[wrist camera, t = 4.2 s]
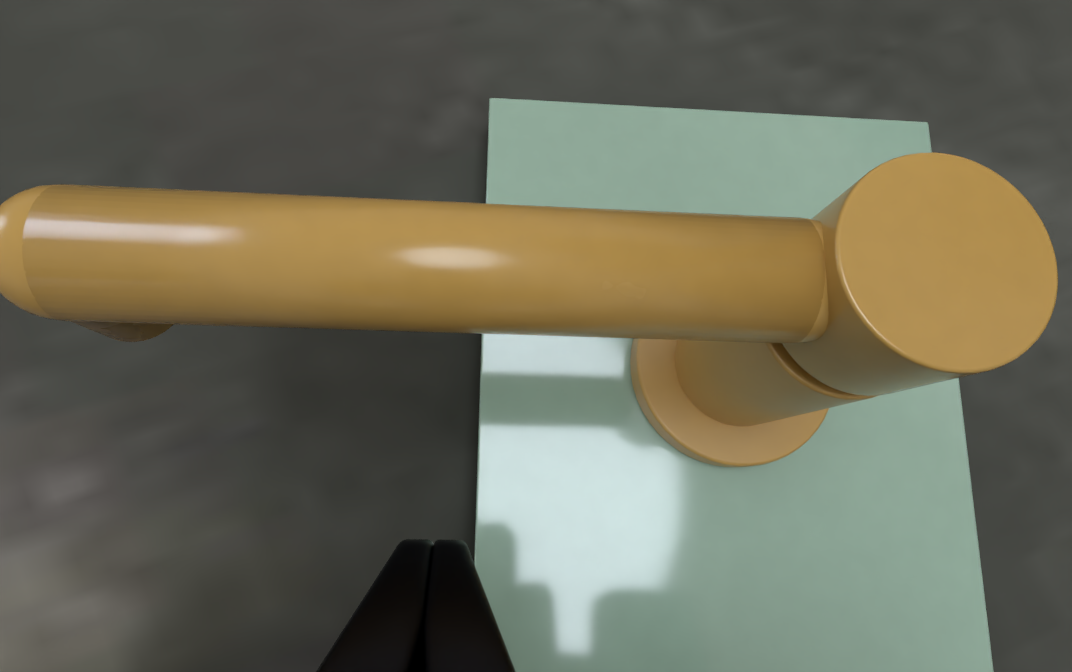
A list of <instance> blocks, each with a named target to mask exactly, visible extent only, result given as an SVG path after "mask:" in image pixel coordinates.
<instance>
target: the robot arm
mask: <svg viewBox="0 0 1072 672" xmlns="http://www.w3.org/2000/svg"><path fill="white" fill-rule="evenodd" d="M316 672H516V671H515V668H514V666H513V663H512V661H511V658H510V656H509V653H508V650H507V648H506V645H505V643H504V640H503V637H502V635H501V632H500V630H499V627H498V624H497V622H496V619H495V617H494V614H493V612H492V609H491V606H490V604H489V601H488V599H487V596H486V593H485V591H484V588H483V586H482V583H481V580H480V578H479V575H478V573H477V570H476V568H475V565H474V562H473V560H472V557H471V555H470V552H469V549H468V547H467V545H466V543H465V542H464V541H462V540H437V541H435V543H434V545H433V543H432V542H431V541H430V540H422V539H406V540H403V541H401V542H400V543H399V544H398V546H397V547H396V549H395V550H394V552H393V554H392V555H391V557H390V558H389V560H388V561H387V563H386V564H385V566H384V567H383V569H382V571H381V572H380V574H379V575H378V577H377V578H376V580H375V581H374V583H373V584H372V586H371V588H370V589H369V591H368V592H367V594H366V595H365V597H364V598H363V600H362V601H361V603H360V605H359V606H358V608H357V609H356V611H355V612H354V614H353V615H352V617H351V619H350V620H349V622H348V623H347V625H346V626H345V628H344V629H343V631H342V632H341V634H340V636H339V637H338V639H337V640H336V642H335V643H334V645H333V646H332V648H331V649H330V651H329V653H328V654H327V656H326V657H325V659H324V660H323V662H322V663H321V665H320V666H319V668H318V670H317V671H316Z"/></svg>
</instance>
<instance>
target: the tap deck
mask: <svg viewBox="0 0 1072 672" xmlns="http://www.w3.org/2000/svg"><path fill="white" fill-rule="evenodd" d="M916 153H932V151H931V143H930V134H929V126H928V123H927V122H913V121H895V120H877V119H859V118H842V117H824V116H806V115H788V114H770V113H752V112H734V111H717V110H699V109H681V108H663V107H645V106H627V105H609V104H591V103H574V102H556V101H538V100H520V99H502V98H490V99H489V122H488V153H487V184H486V203H488V204H510V205H533V206H555V207H577V208H600V209H622V210H644V211H667V212H689V213H711V214H733V215H756V216H778V217H800V218H808V219H812V218H813V217H814V216H815V215H817V214H818V213H819V212H820V211H821V210H823V209H824V208H825V207H826V206H828V205H829V204H830V203H831V202H833V201H834V200H835V199H836V198H837V197H839V196H840V195H841V194H842V193H844V192H845V191H846V190H847V189H848V188H850V187H851V186H852V185H853V184H855V183H856V182H857V181H858V180H859V179H861V178H862V177H863V176H864V175H866V174H867V173H868V172H869V171H871V170H872V169H874V168H875V167H877V166H879V165H880V164H882V163H884V162H887V161H889V160H891V159H893V158H897V157H900V156H904V155H909V154H916ZM632 343H633V338H601V337H569V336H537V335H504V334H482V339H481V370H480V401H479V432H478V463H477V494H476V525H475V556H474V565H475V568H476V570H477V573H478V575H479V578H480V580H481V583H482V586H483V588H484V591H485V593H486V596H487V599H488V601H489V604H490V606H491V609H492V612H493V614H494V617H495V619H496V622H497V624H498V627H499V630H500V632H501V635H502V637H503V640H504V643H505V645H506V648H507V650H508V653H509V656H510V658H511V661H512V663H513V666H514V668H515V671H516V672H994V671H993V663H992V654H991V646H990V638H989V629H988V621H987V612H986V604H985V596H984V587H983V579H982V570H981V562H980V554H979V545H978V537H977V528H976V520H975V512H974V503H973V495H972V487H971V478H970V470H969V461H968V453H967V445H966V436H965V428H964V419H963V411H962V403H961V394H960V386H959V378H956V379H951V380H947V381H943V382H939V383H934V384H930V385H926V386H921V387H917V388H913V389H908V390H904V391H900V392H896V393H891V394H886V395H880V396H877V397H873V398H870V399H866V400H861V401H857V402H853V403H848V404H844V405H840V406H835V407H831V408H829V410H828V412H827V414H826V416H825V419H824V420H823V422H822V424H821V425H820V427H819V428H818V430H817V431H816V432H815V433H814V435H813V436H812V437H811V438H810V439H809V440H808V441H807V442H806V443H805V444H804V445H802V446H801V447H800V448H799V449H797V450H796V451H794V452H793V453H791V454H790V455H788V456H786V457H784V458H781V459H779V460H777V461H774V462H770V463H767V464H763V465H756V466H748V467H722V466H715V465H711V464H707V463H703V462H700V461H698V460H696V459H693V458H691V457H689V456H687V455H685V454H683V453H682V452H680V451H678V450H677V449H676V448H674V447H673V446H672V445H670V444H669V443H668V442H666V441H665V440H664V439H663V438H662V437H661V436H660V435H659V434H658V433H657V431H656V430H655V429H654V428H653V426H652V425H651V424H650V423H649V421H648V419H647V418H646V416H645V415H644V413H643V411H642V409H641V407H640V405H639V403H638V400H637V398H636V395H635V391H634V388H633V384H632V378H631V367H630V358H631V348H632Z"/></svg>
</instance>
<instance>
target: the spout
mask: <svg viewBox="0 0 1072 672" xmlns="http://www.w3.org/2000/svg"><path fill="white" fill-rule="evenodd" d="M1057 288H1058V272H1057V262H1056V258H1055V253H1054V249H1053V246H1052V243H1051V240H1050V237H1049V235H1048V232H1047V230H1046V228H1045V226H1044V224H1043V222H1042V220H1041V219H1040V217H1039V216H1038V214H1037V213H1036V211H1035V209H1034V208H1033V207H1032V206H1031V204H1030V203H1029V202H1028V201H1027V199H1026V198H1025V197H1024V196H1023V195H1022V194H1021V193H1020V192H1019V191H1018V190H1017V189H1016V188H1015V187H1014V186H1013V185H1012V184H1010V183H1009V182H1008V181H1007V180H1006V179H1004V178H1003V177H1002V176H1000V175H998V174H997V173H995V172H994V171H992V170H991V169H989V168H987V167H985V166H983V165H981V164H979V163H977V162H974V161H971V160H969V159H966V158H963V157H959V156H955V155H951V154H943V153H916V154H909V155H904V156H900V157H897V158H893V159H891V160H889V161H887V162H884V163H882V164H880V165H879V166H877V167H875V168H874V169H872V170H871V171H869V172H868V173H867V174H866V175H864V176H863V177H862V178H861V179H859V180H858V181H857V182H856V183H855V184H853V185H852V186H851V187H850V188H848V189H847V190H846V191H845V192H844V193H842V194H841V195H840V196H839V197H837V198H836V199H835V200H834V201H833V202H831V203H830V204H829V205H828V206H826V207H825V208H824V209H823V210H821V211H820V212H819V213H818V214H817V215H815V216H814V217H813V218H812V219H808V218H800V217H778V216H756V215H733V214H711V213H689V212H667V211H644V210H622V209H600V208H577V207H555V206H533V205H510V204H488V203H466V202H444V201H421V200H399V199H377V198H354V197H332V196H310V195H287V194H265V193H243V192H221V191H198V190H176V189H154V188H131V187H109V186H87V185H64V184H60V185H44V186H38V187H34V188H30V189H27V190H24V191H22V192H20V193H18V194H16V195H14V196H12V197H10V198H8V199H7V200H6V201H5V202H4V203H2V204H1V205H0V293H1V294H2V295H3V296H4V297H5V298H6V299H7V300H9V301H10V302H11V303H13V304H14V305H16V306H18V307H19V308H21V309H23V310H25V311H27V312H28V313H31V314H34V315H37V316H40V317H43V318H48V319H53V320H61V321H71V322H73V323H76V324H78V325H81V326H83V327H86V328H88V329H90V330H93V331H95V332H98V333H100V334H103V335H105V336H108V337H110V338H113V339H115V340H120V341H126V342H137V341H144V340H147V339H151V338H153V337H155V336H158V335H160V334H161V333H163V332H165V331H166V330H167V329H169V328H170V327H171V326H172V325H173V324H183V325H215V326H247V327H279V328H312V329H344V330H376V331H408V332H440V333H472V334H504V335H537V336H569V337H601V338H633V339H665V340H697V341H729V342H761V343H782V344H783V346H784V347H785V349H786V350H787V351H788V353H789V354H790V356H791V357H792V358H793V359H794V360H795V361H796V362H797V363H798V365H799V366H800V367H802V368H803V369H804V370H805V371H806V372H807V373H809V374H810V375H811V376H813V377H814V378H816V379H817V380H819V381H820V382H822V383H824V384H826V385H828V386H830V387H832V388H835V389H837V390H840V391H843V392H846V393H851V394H855V395H864V396H878V395H886V394H891V393H896V392H900V391H904V390H908V389H913V388H917V387H921V386H926V385H930V384H934V383H939V382H943V381H947V380H951V379H956V378H960V377H964V376H969V375H973V374H977V373H981V372H986V371H990V370H993V369H996V368H999V367H1001V366H1004V365H1006V364H1007V363H1009V362H1011V361H1013V360H1015V359H1016V358H1018V357H1019V356H1020V355H1022V354H1023V353H1025V352H1026V351H1027V350H1028V349H1029V348H1030V347H1031V346H1032V345H1033V344H1034V343H1035V342H1036V341H1037V339H1038V338H1039V336H1040V335H1041V334H1042V332H1043V331H1044V330H1045V328H1046V326H1047V324H1048V322H1049V320H1050V318H1051V315H1052V312H1053V309H1054V306H1055V301H1056V296H1057Z"/></svg>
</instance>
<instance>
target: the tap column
mask: <svg viewBox="0 0 1072 672" xmlns="http://www.w3.org/2000/svg"><path fill="white" fill-rule="evenodd" d="M630 367H631V378H632V384H633V388H634V391H635V395H636V398H637V400H638V403H639V405H640V407H641V409H642V411H643V413H644V415H645V416H646V418H647V419H648V421H649V423H650V424H651V425H652V426H653V428H654V429H655V430H656V431H657V433H658V434H659V435H660V436H661V437H662V438H663V439H664V440H665V441H666V442H668V443H669V444H670V445H672V446H673V447H674V448H676V449H677V450H678V451H680V452H682V453H683V454H685V455H687V456H689V457H691V458H693V459H696V460H698V461H700V462H703V463H707V464H711V465H715V466H722V467H748V466H756V465H763V464H767V463H770V462H774V461H777V460H779V459H781V458H784V457H786V456H788V455H790V454H791V453H793V452H794V451H796V450H797V449H799V448H800V447H801V446H802V445H804V444H805V443H806V442H807V441H808V440H809V439H810V438H811V437H812V436H813V435H814V433H815V432H816V431H817V430H818V428H819V427H820V425H821V424H822V422H823V420H824V419H825V416H826V414H827V412H828V410H829V408H831V407H835V406H840V405H844V404H848V403H853V402H857V401H861V400H866V399H870V398H873V397H877V396H864V395H855V394H851V393H846V392H843V391H840V390H837V389H835V388H832V387H830V386H828V385H826V384H824V383H822V382H820V381H819V380H817V379H816V378H814V377H813V376H811V375H810V374H809V373H807V372H806V371H805V370H804V369H803V368H802V367H800V366H799V365H798V363H797V362H796V361H795V360H794V359H793V358H792V357H791V356H790V354H789V353H788V351H787V350H786V349H785V347H784V346H783V344H782V343H761V342H729V341H697V340H665V339H633V343H632V348H631V358H630ZM878 396H880V395H878Z"/></svg>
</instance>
